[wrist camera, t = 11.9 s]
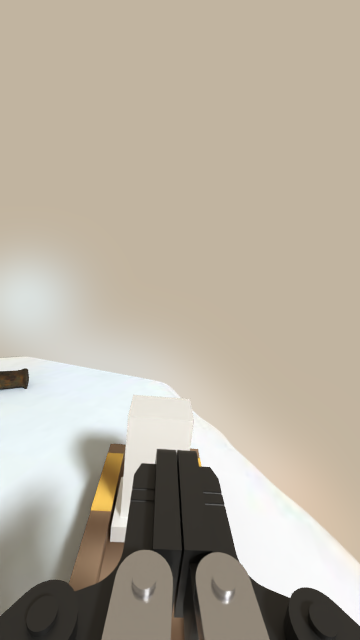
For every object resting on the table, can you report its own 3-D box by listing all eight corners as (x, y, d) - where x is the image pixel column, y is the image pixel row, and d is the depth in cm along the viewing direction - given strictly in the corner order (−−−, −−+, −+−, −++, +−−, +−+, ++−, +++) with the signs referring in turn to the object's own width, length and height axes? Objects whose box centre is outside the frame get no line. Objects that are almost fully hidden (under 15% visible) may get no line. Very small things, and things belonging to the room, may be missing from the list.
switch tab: (186, 544, 26) (202, 428, 24) (110, 541, 26) (118, 422, 23) (182, 493, 32) (195, 395, 30) (120, 489, 32) (128, 389, 29)
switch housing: (239, 809, 15) (252, 761, 14) (14, 818, 14) (12, 767, 13) (194, 473, 38) (198, 447, 37) (109, 468, 37) (111, 442, 36)
